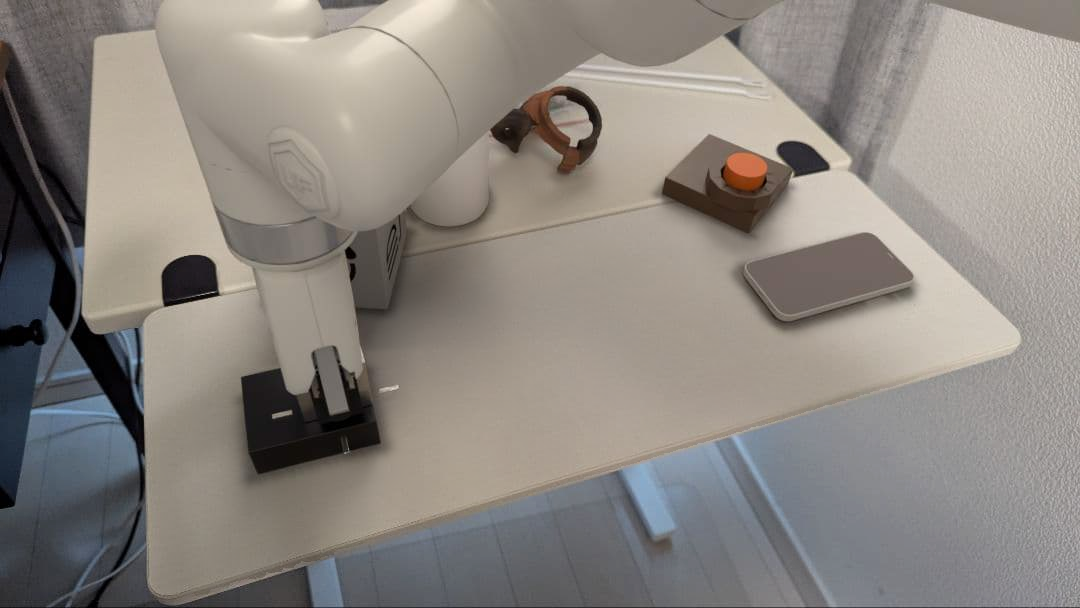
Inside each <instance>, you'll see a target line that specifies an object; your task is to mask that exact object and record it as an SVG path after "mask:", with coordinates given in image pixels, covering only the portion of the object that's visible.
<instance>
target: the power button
mask: <svg viewBox="0 0 1080 608" xmlns="http://www.w3.org/2000/svg"><path fill="white" fill-rule="evenodd" d="M766 172H767V164H766V163H765V161H764V160H763V159H761V158H760V157H758V156H756V155H753V154H749V153H736V154H733V155H731V156H730V157H729V158H728V159H727V162H726V166H725V169H724V173H723V178H724V180H725V181H726V183H727V184H729V185H731V186H733V187H735V188H738V189H740V190H750V191H752V190H756V189H759V188H760V187H761V186H762V184H763V182H764V179H765V176H766Z"/></svg>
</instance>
